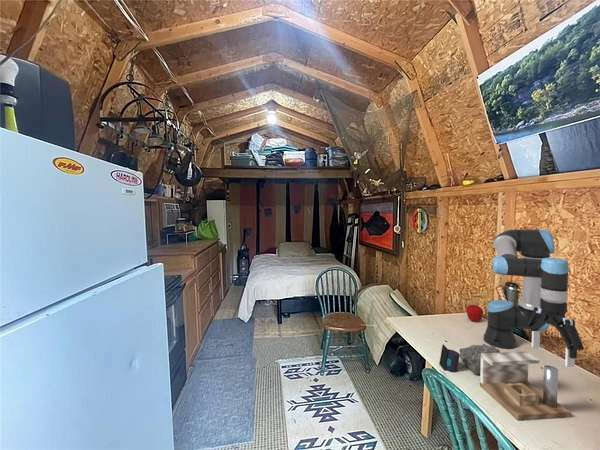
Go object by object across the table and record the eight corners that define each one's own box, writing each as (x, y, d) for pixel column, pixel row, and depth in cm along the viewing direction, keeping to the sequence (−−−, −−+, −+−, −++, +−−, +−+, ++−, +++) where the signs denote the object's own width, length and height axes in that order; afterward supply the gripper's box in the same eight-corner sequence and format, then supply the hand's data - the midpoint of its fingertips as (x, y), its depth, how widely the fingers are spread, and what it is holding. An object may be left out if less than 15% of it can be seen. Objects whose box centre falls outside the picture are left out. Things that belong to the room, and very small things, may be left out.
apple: (469, 323, 187) (469, 307, 186) (463, 317, 196) (463, 302, 195) (485, 324, 185) (486, 307, 184) (479, 318, 194) (479, 302, 194)
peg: (549, 400, 110) (551, 365, 109) (559, 407, 106) (561, 371, 105) (540, 400, 110) (541, 365, 109) (549, 408, 106) (550, 371, 105)
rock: (515, 375, 124) (505, 354, 138) (497, 350, 125) (488, 332, 138) (474, 389, 131) (467, 367, 145) (457, 365, 132) (452, 346, 146)
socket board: (524, 383, 124) (525, 351, 123) (570, 417, 104) (571, 378, 103) (479, 385, 123) (480, 353, 122) (517, 420, 103) (518, 381, 102)
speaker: (439, 370, 135) (442, 348, 134) (439, 364, 140) (441, 343, 139) (458, 374, 132) (460, 353, 131) (456, 368, 137) (459, 348, 136)
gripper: (516, 290, 118) (515, 341, 119) (578, 312, 93) (576, 375, 94) (533, 290, 118) (532, 340, 119) (600, 311, 93) (597, 374, 94)
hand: (551, 356), depth 106 cm, fingers open, 13 cm apart
